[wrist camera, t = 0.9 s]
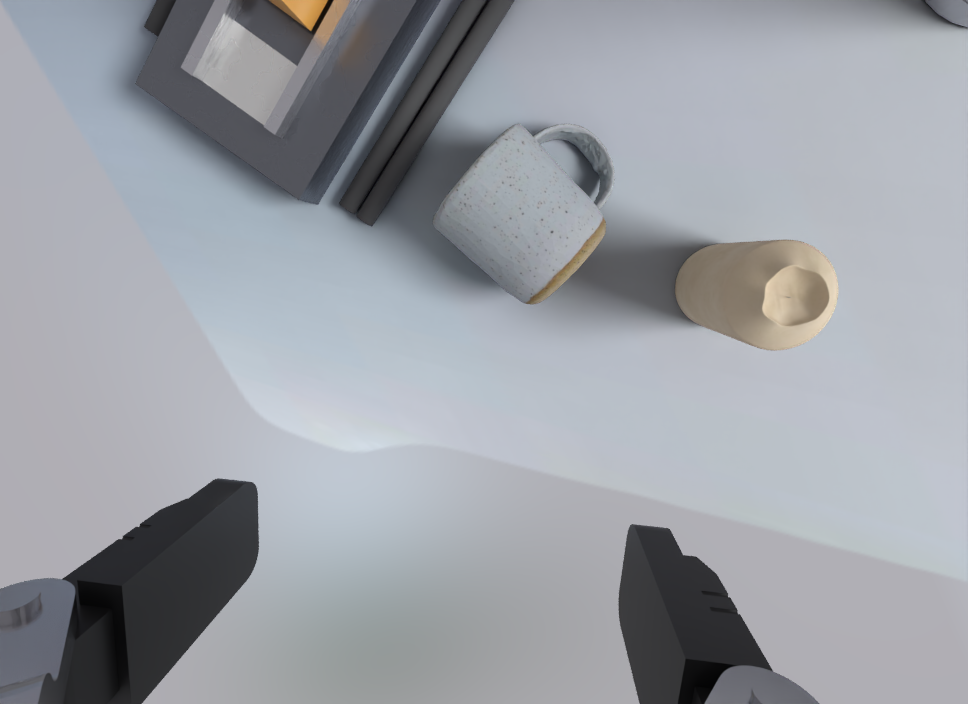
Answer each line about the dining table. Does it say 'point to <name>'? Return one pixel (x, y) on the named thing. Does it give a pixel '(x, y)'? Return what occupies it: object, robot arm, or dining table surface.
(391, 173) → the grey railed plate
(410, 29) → the panel
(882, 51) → the dining table surface
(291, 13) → the lever
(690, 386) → the dining table surface
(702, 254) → the candle
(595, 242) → the ceramic mug
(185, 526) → the robot arm
